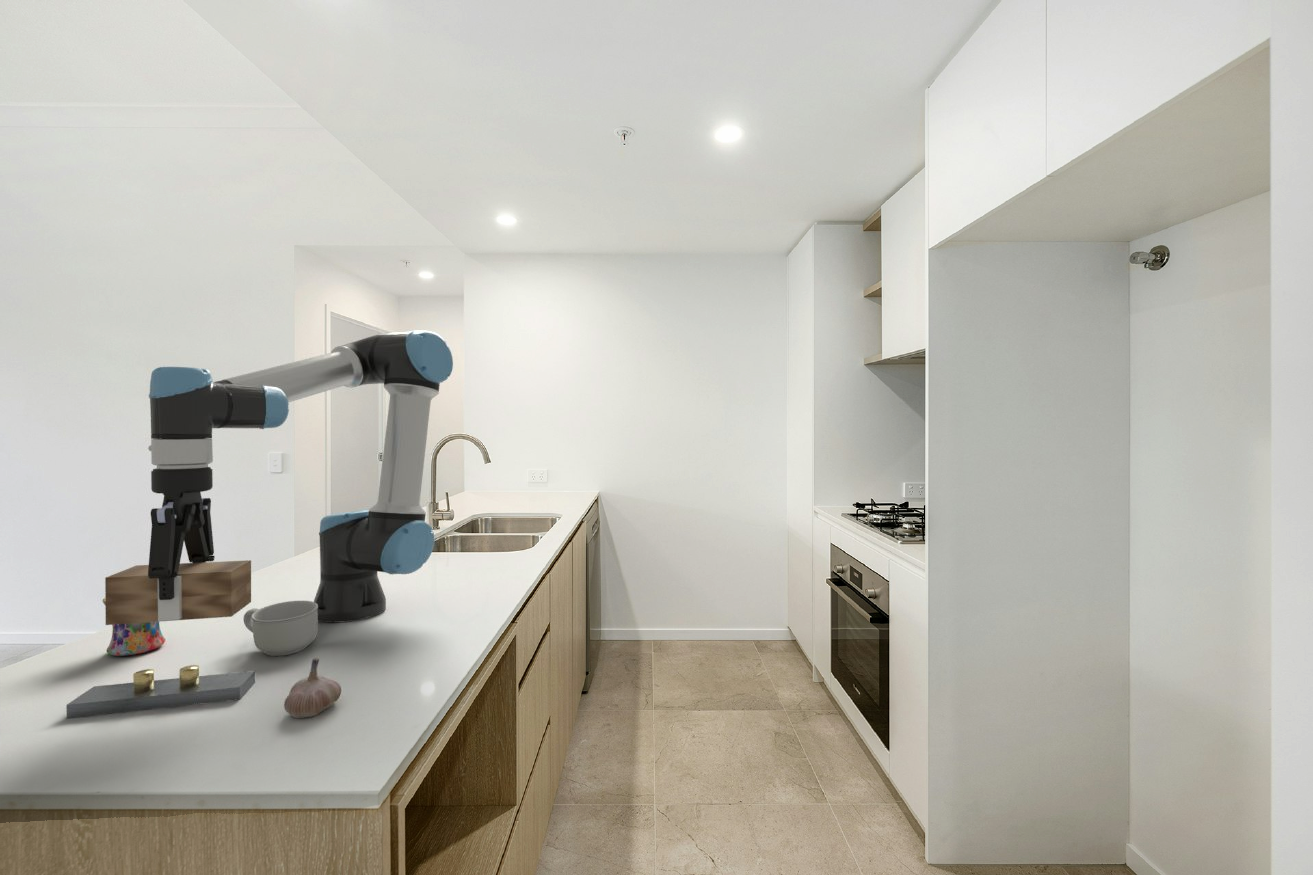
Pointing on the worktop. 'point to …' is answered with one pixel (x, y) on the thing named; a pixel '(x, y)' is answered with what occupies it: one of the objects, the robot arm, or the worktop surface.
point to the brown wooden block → (202, 592)
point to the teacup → (283, 626)
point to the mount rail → (161, 692)
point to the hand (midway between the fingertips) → (184, 610)
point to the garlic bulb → (312, 694)
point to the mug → (135, 638)
